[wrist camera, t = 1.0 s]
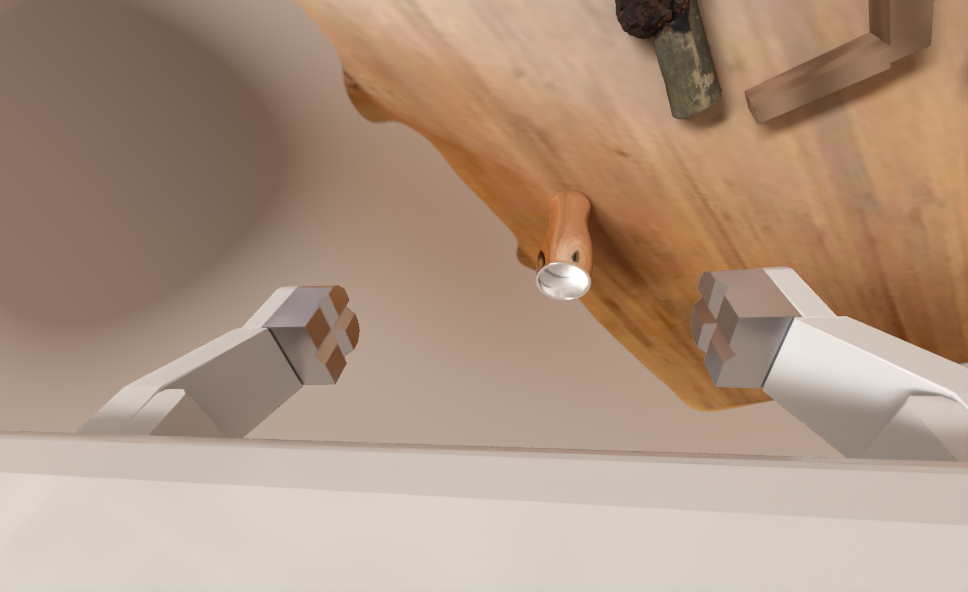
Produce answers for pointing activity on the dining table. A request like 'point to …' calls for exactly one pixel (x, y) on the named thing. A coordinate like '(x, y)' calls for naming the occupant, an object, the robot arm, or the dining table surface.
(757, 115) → the walnut cradle
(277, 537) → the robot arm
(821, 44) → the dining table surface
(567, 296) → the beer glass
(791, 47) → the dining table surface
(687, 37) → the metal pipe
